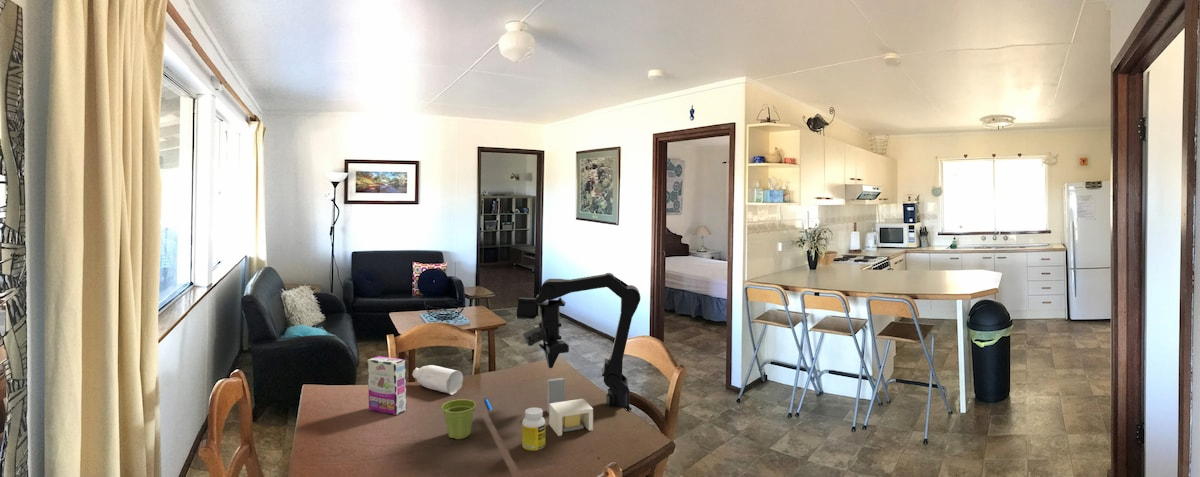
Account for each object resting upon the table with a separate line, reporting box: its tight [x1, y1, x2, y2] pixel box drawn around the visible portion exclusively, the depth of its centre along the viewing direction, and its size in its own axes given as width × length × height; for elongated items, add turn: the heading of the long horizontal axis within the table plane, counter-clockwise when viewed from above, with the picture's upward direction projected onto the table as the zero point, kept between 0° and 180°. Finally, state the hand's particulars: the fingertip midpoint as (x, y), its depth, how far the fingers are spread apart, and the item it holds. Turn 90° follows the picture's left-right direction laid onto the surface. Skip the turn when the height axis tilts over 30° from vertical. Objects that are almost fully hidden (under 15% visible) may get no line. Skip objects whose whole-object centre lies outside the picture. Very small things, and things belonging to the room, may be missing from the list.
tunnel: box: [548, 398, 594, 437], centre depth 167 cm, size 10×15×8 cm
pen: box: [484, 397, 493, 411], centre depth 180 cm, size 1×19×1 cm, turn 20°
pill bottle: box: [521, 407, 546, 452], centre depth 152 cm, size 6×6×11 cm
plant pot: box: [441, 399, 477, 440], centre depth 161 cm, size 9×9×9 cm
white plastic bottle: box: [412, 364, 464, 396], centre depth 197 cm, size 8×19×8 cm, turn 60°
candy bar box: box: [367, 355, 407, 416], centre depth 178 cm, size 11×5×16 cm, turn 68°
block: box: [562, 414, 581, 428], centre depth 164 cm, size 4×4×4 cm
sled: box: [545, 377, 584, 433], centre depth 169 cm, size 6×17×10 cm, turn 23°
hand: (550, 367), depth 180 cm, fingers closed
